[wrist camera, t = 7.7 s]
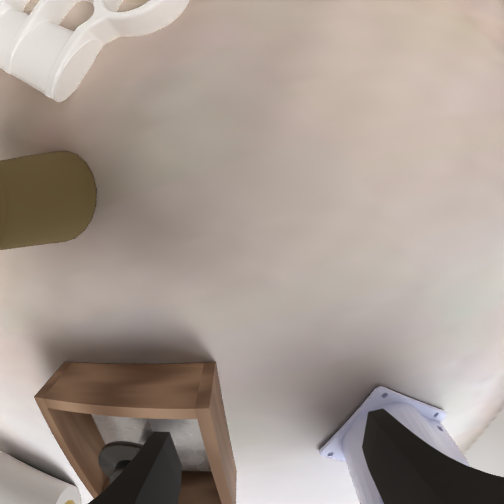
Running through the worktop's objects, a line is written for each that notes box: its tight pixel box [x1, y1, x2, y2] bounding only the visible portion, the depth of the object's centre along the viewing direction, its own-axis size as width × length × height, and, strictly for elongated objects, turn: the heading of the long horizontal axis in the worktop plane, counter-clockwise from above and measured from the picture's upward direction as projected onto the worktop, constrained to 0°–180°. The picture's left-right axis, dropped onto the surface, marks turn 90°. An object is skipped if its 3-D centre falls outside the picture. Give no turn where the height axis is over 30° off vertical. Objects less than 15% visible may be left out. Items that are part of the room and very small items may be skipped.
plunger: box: [91, 414, 211, 484], centre depth 18 cm, size 9×9×6 cm
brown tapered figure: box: [0, 151, 97, 250], centre depth 13 cm, size 6×6×11 cm
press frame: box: [34, 362, 236, 504], centre depth 20 cm, size 12×12×5 cm
